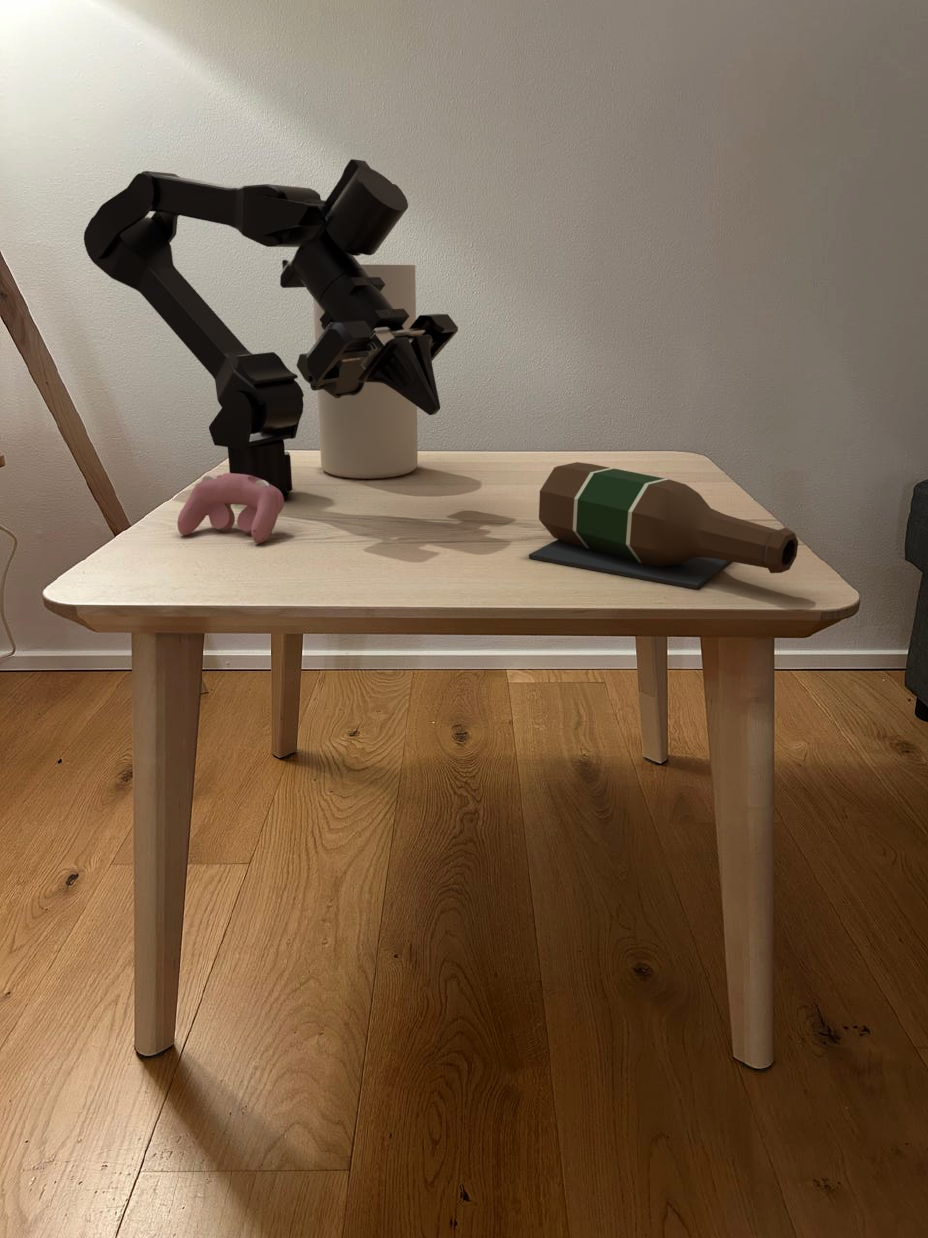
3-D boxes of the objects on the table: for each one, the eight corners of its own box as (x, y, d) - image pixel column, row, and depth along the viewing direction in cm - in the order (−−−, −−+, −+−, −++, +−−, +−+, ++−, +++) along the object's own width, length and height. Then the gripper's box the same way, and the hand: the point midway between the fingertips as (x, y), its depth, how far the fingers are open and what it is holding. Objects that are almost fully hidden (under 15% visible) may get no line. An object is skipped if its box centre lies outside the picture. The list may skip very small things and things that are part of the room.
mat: (528, 558, 86) (528, 554, 86) (584, 529, 96) (584, 525, 96) (697, 589, 79) (697, 585, 78) (739, 554, 88) (740, 550, 88)
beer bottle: (550, 449, 88) (784, 494, 72) (597, 470, 94) (824, 516, 77) (525, 529, 89) (752, 592, 72) (574, 545, 94) (794, 606, 78)
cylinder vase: (301, 471, 121) (289, 264, 112) (364, 456, 130) (358, 264, 122) (375, 484, 114) (369, 265, 105) (436, 467, 124) (435, 265, 115)
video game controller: (281, 551, 93) (293, 482, 94) (259, 542, 89) (271, 470, 89) (196, 541, 96) (208, 475, 97) (170, 532, 92) (182, 462, 92)
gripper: (358, 340, 106) (439, 448, 105) (239, 353, 91) (332, 479, 90) (414, 267, 99) (502, 381, 98) (296, 267, 85) (397, 402, 83)
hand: (435, 412), depth 92 cm, fingers closed
